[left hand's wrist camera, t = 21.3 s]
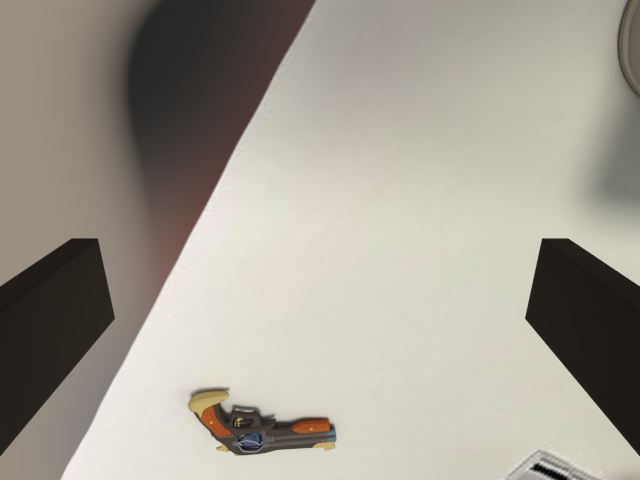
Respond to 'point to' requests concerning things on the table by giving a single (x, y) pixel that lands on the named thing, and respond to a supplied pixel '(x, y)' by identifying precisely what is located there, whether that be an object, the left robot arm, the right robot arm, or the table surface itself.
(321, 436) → the toy gun
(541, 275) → the left robot arm
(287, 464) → the table surface
